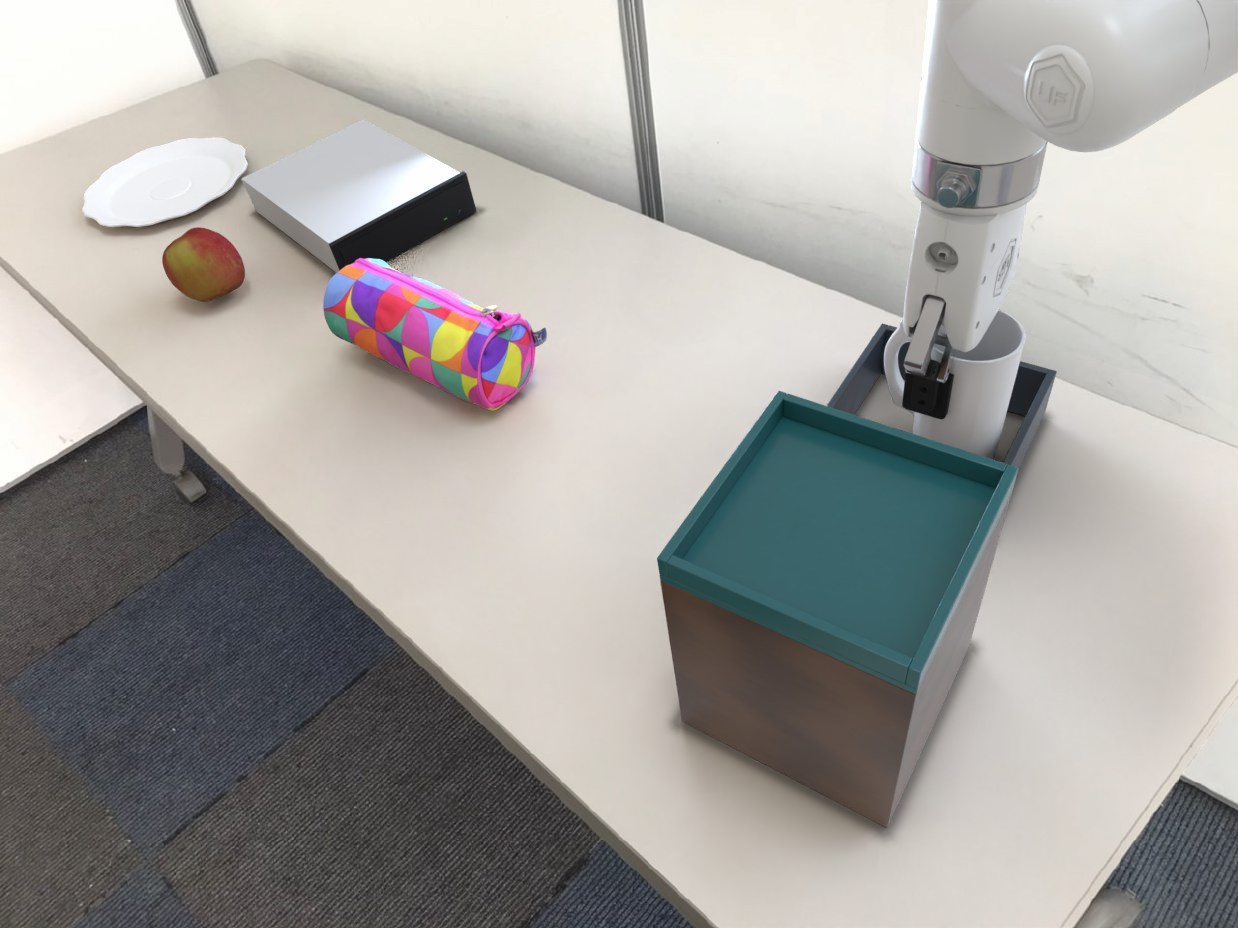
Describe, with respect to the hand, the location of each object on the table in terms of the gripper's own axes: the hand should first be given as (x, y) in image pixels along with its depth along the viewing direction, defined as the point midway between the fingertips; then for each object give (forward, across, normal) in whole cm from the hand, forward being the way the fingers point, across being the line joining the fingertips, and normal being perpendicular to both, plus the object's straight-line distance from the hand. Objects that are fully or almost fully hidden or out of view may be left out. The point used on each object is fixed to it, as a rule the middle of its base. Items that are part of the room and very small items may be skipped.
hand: (943, 378), depth 70 cm
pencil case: (+7, -9, +44) cm, 46 cm away
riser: (+8, -23, -2) cm, 25 cm away
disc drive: (+7, +8, +72) cm, 72 cm away
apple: (+7, -11, +76) cm, 77 cm away
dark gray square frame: (+8, 0, +1) cm, 8 cm away
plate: (+6, +2, +100) cm, 101 cm away
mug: (+7, 0, 0) cm, 7 cm away
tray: (-8, -23, -2) cm, 25 cm away
